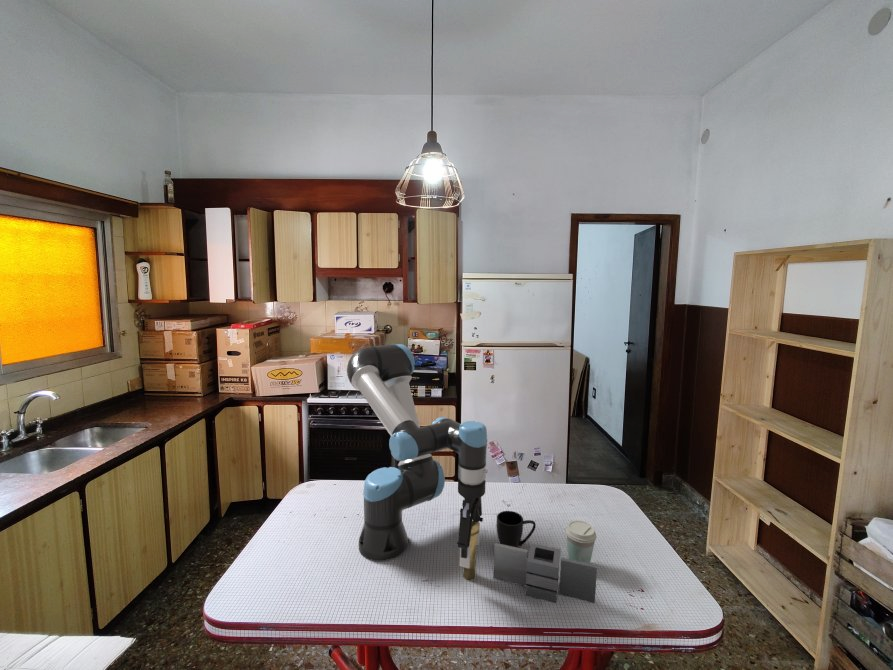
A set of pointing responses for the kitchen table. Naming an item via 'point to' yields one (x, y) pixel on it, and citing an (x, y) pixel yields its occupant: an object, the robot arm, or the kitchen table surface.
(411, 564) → the kitchen table surface
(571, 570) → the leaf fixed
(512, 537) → the mug
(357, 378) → the robot arm
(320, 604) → the kitchen table surface
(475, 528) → the pin
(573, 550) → the coffee cup
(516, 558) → the grey piece
